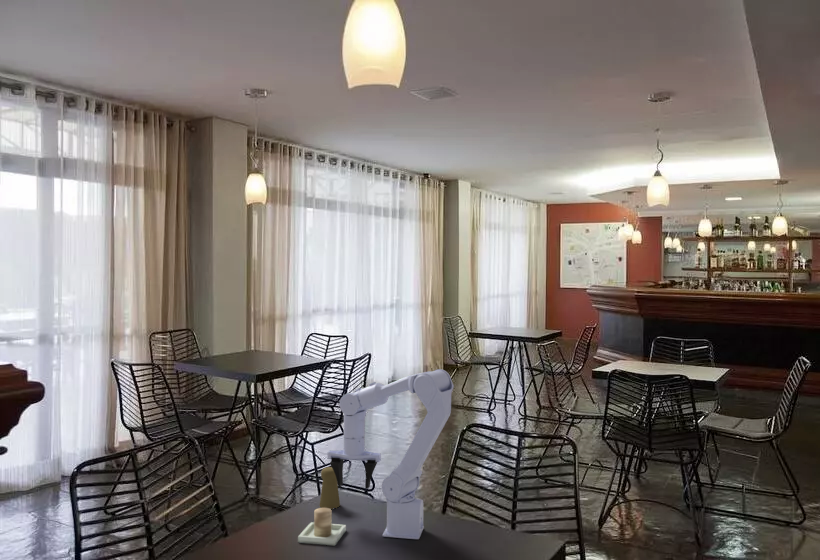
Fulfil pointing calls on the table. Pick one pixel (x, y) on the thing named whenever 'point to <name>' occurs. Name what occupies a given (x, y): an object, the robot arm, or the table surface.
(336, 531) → the sage tray
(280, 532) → the table surface
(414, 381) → the robot arm
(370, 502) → the table surface
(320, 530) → the beech cylinder
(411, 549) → the table surface
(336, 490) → the olive tapered cylinder
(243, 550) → the table surface
